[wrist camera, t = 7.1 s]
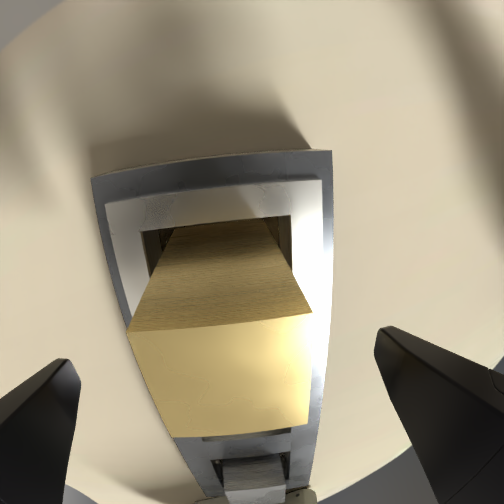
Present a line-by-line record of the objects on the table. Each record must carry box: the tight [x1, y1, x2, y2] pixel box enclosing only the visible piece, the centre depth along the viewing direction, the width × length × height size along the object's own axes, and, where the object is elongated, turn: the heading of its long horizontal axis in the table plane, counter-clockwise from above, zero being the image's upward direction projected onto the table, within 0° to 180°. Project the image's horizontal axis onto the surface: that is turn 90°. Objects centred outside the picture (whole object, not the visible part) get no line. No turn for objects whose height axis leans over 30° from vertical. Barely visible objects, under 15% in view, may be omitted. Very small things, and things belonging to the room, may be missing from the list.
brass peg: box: [126, 218, 314, 437], centre depth 10 cm, size 4×4×8 cm
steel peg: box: [222, 453, 286, 504], centre depth 17 cm, size 4×4×5 cm
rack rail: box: [91, 149, 333, 497], centre depth 16 cm, size 9×26×3 cm, turn 5°
